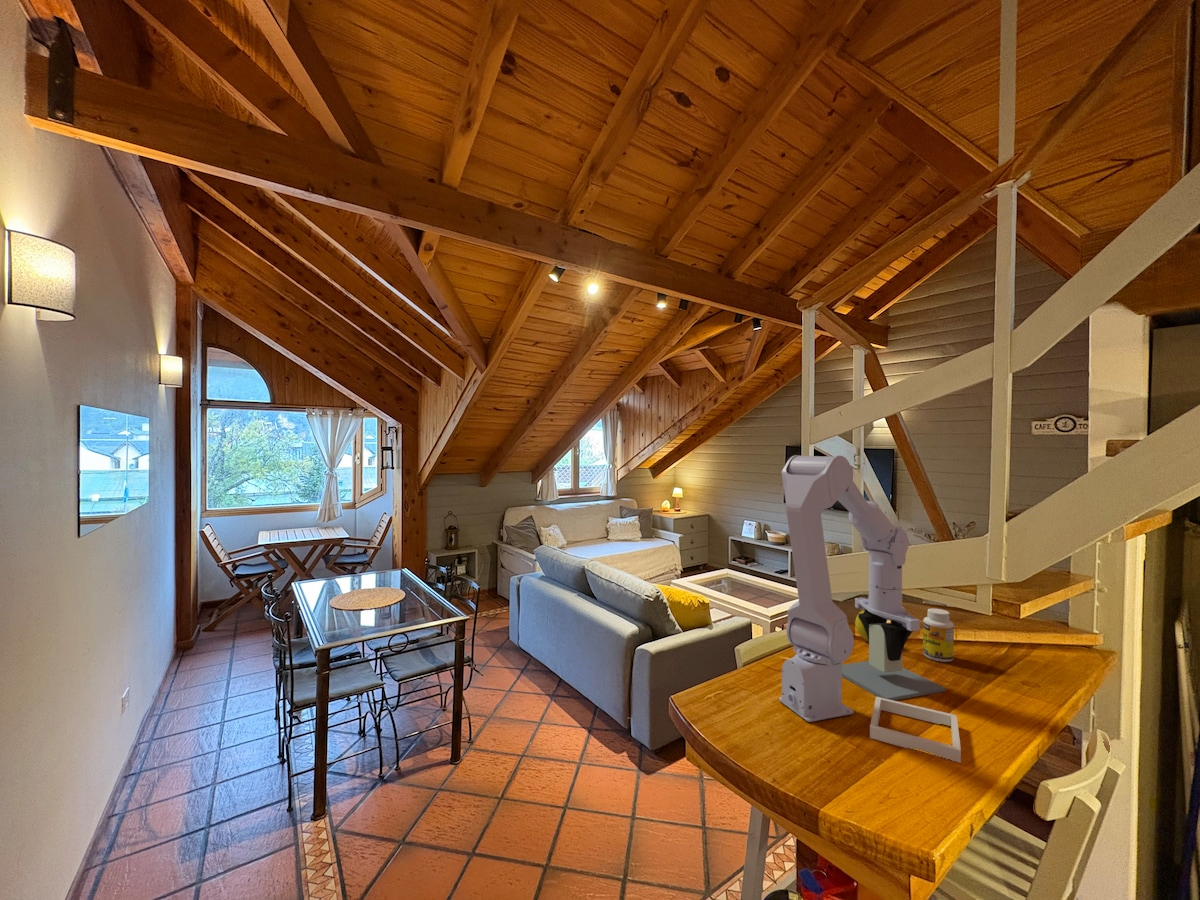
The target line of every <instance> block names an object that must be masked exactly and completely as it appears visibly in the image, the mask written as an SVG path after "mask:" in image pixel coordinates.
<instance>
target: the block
mask: <svg viewBox="0 0 1200 900" xmlns="http://www.w3.org/2000/svg"><path fill="white" fill-rule="evenodd" d="M881 624H882V623H875V624H869V642H868V661H869V664H870V665H872V666H873V667H875V668H877V669H879V670H880V671H882V672H884V673H886V672H896V671H902V667H903V653H902V654H901V657H900V660H896V661H890V660H889V659H888V655H887V644H886V638H885V634H884V631H883V628H882V626H881Z"/></svg>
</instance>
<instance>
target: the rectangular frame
mask: <svg viewBox="0 0 1200 900" xmlns="http://www.w3.org/2000/svg"><path fill="white" fill-rule="evenodd" d="M881 711H883V712H888V713H892V714H896V715H900V716H904V717H909V718H912V719H917V720H920V721H924V722H928V723H933V724H937V725H940V724H945V725H949V726H951V727H950V730H951V731H950V732H952V733H951V742H952V745H951V744H947V743H943V742H941V741H935V740H932V739H928V738H924V737H920V736H916V735H913V734H909V733H905V732H901V731H898V730H894V729H889V728H888V727H887V728H886V727H882V726H879V722H880V716H881ZM871 715H872V716H871V720H870V724H869V739H871V740H872V739H873V740H876V741H879V742H883V743H886V744H890V745H894V746H897V747H901V748H905V749H908V748H910V749H909V750H911V749H918V750H922V751H925V752H928V753H932V754H934V755H936V756H935V757H937V756H940V757H943V758H942V759H944V758H946V759H945V760H948V759H950V760H949V761H951V760H952V761H953V762H956V763H958V764H959V763H960V764H961V763H962V749H961V748H962V747H961V740H960V731H959V724H958V715H956V714H953V713H949V712H944V711H940V710H935V709H932V708H927V707H923V706H919V705H914V704H910V703H905V702H901V701H898V700H894V701H893V700H889V699H885V698H881V697H878V696H876V697H875V700H874V706H873V710H872V713H871ZM940 757H939V758H940Z"/></svg>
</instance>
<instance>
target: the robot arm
mask: <svg viewBox="0 0 1200 900" xmlns="http://www.w3.org/2000/svg"><path fill="white" fill-rule="evenodd" d="M781 479H782V485H783V486H782V487H783V492H784V493H783V494H784V501H785V512H786V518H787V525H788V534H789V538H790V539H789V541H790V546H791V547H790V548H791V553H792V554H791V555H792V559H793V560H792V561H793V568H794V569H793V570H794V574H795V582H796V588H797V589H796V591H797V597H798V601H796V602H794V603H793V604H792V605H791V606H790V607H789V608H788V609H787V613H786V614H787V624H786V630H785V631H786V636H787V640H788V642H789V643H790V644H791V645H793V648H792V649H793V652H795V653H796V654H795V655H793V657H791V658H788V659H786V660H784V662H783V664H782V668H781V696H779V698H778V700H780V701H779V702H781V703H782V704H783V705H785V706H786V707H787V708H789V710H791V711H793V712H794V713H795V714H797V715H798V716H799V717H800V718H802V719H804V720H805V721H807V722H809V723H812V722H817V721H821V720H822V721H823V720H828V719H833V718H838V717H843V716H849V715H854V709H852V708H850V707H849V706H847V705H846V704H844V703H842V702H843V701H842V699H843V697H842V696H843V695H842V690H843V688H842V687H843V683H842V680H843V677H842V665H843V664H842V663H844V662H845V661H847V660H848V659H849V658H850V656H851V654H852V652H853V650H854V645H855V639H854V638H855V637H854V635H853V631H852V629H851V627H850V625H849V623H848V622H849V621H848V616H847V615H846V614H845V613H844V611H842V610H841V609H840V607H839V606H837V605H836V603H835V602H834V601H833V595H832V587H831V582H830V573H829V566H828V565H829V564H828V559H827V551H826V543H825V536H824V530H823V529H824V528H823V522H822V521H823V520H822V513H824V510H827V509H829V508H832V507H833V505H835V503H837V502H839V504H841V505H842V506H843V507H844V509H846V510H847V511H848V520H849V522H850V523H851V524H852V526H853V527H854V528H855V530H856V531H858V533H859V536H860V538H861V544H862V546H863V549H864V550H866V551H867V552H868V598H866V597H855V598H854V607H855V608H856V609H861V610H863V611H864V613H860V612H859V613H860V614H859V613H858V614H857V615H858V617H859V619H860V621H861V622H862V624H863V626H864V628H865V631H866V634H867V637H868V641H869V624H875V623H882V624H881V626H882V628H883V631H884V634H885V638H886V644H887V655H888V659H889V660H890V661H896V660H900V657H901V654H902V655H903V650H904V648H905V645H906V642H907V641H908V639H909V637H910V636H911V635H912V633H913V632H915V631H916V632H917V631H920V629H921V626H920V625H921V620H920V619H918V618H916V617H914V616H912V615H911V614H910V613H909V612H907V611H906V608H905V607H904V606H903V565H905V562H906V555H907V553H908V549H909V545H910V540H909V535H908V534H907V532H906V531H905V530H904V529H903V528H902V527H900V526H895V525H894V524H893V523H892V521H891V520H890V519H889V517H888V516H887V515H886V514H885V513H884V511H883V510H882V508H880V505H879V504H878V503H877V501H876V502H874V501H871V500H866V498H865V496H863V495H864V494H862V492H861V491H860V489H859V488H858V486H857V484H856V483H855V481H854V467H853V466H852V465H851V464H850V461H849V460H848V459H847V457H845V456H844V455H834V456H832V455H831V456H830V455H829V456H828V455H827V456H826V455H825V456H820V455H815V456H813V455H799V454H797V455H792V456H791V457H789V459H788V460H787V462H786V463H785V465H784V466H783V468H782V470H781ZM888 621H889V622H888Z"/></svg>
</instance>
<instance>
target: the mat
mask: <svg viewBox="0 0 1200 900" xmlns="http://www.w3.org/2000/svg"><path fill="white" fill-rule="evenodd" d="M842 678H844V679H846V680H847V681H849V682H851V683H853V684H855V685H856V686H858V687H860V688H862V689H864V690H865V691H866V692H869V693H871V694H872V695H874V696H876V697H881V698H885V699H889V700H893V701H898V700H904V699H909V698H915V697H920V696H924V695H925V696H926V695H931V694H932V695H933V694H937V693H941V692H943V693H944V692H946V687H945V686H943V685H942V684H941V685H940V684H938V683H936V682H934V681H932V680H930V679H928V678H925V677H923V676H922V675H920V674H917V673H915V672H913V671H911V670H910V669H907V668H904V667H903V666H902V671H896V672H886V673H884V672H882V671H880V670H879V669H877V668H875V667H873V666H872V665H870V664H869V660H865V661H858V662H852V663H851V662H850V663H844V664H842Z"/></svg>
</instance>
